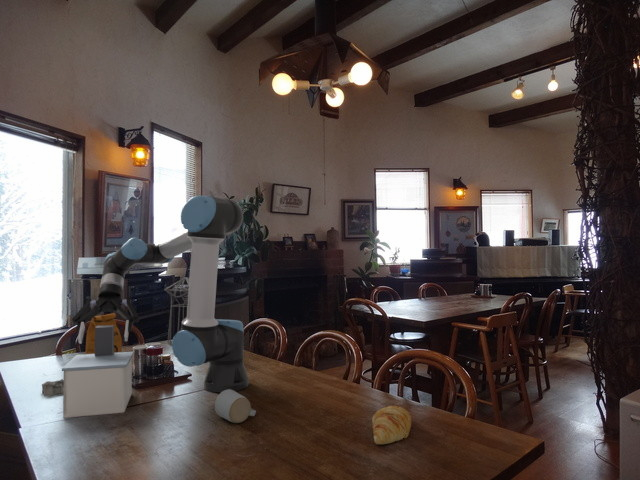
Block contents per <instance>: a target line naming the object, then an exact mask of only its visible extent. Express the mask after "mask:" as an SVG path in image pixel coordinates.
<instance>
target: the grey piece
mask: <svg viewBox="0 0 640 480" xmlns="http://www.w3.org/2000/svg"><path fill="white" fill-rule="evenodd" d="M63 389H64V378H62V379H60V380H55V381H51V380H49V381H45V382H43V383H42V384H41V393H42V394H43V395H44V396H46V397H47V396H49V397H51V396H54V395H56V394H61V395H63Z"/></svg>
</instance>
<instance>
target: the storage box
mask: <svg viewBox="0 0 640 480" xmlns="http://www.w3.org/2000/svg"><path fill="white" fill-rule="evenodd" d="M132 367H133V357H132V358H131V360H130V361H129V363H128V365H127V367H119V368H104V369H88V370H73V371H63V380H64V389H63V393H62V395H63V399H62V400H63V401H62V404H63V406H62V408H63V410H62V413H63V414H62V418H76V417H77V418H78V417H87V416H98V415H108V414H110V415H111V414H119V413H120V414H121V413H122V414H123V413H125V412H126V409H127V406H128V404H129V401H130V400H131V397H132V394H133V391H132V390H133V387H132V386H133V385H132V384H133V382H132V381H133V374H132V373H133V368H132Z"/></svg>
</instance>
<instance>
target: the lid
mask: <svg viewBox="0 0 640 480" xmlns="http://www.w3.org/2000/svg"><path fill="white" fill-rule="evenodd" d="M134 354H135V353H134V351H122V352H118V353H114V325H104V326H97V327H95V354H86V353H85V354H83V353H82V354H76V355H75V356H74V357H72V359H71V360H69V361H68V362H67V363H66V364H65V365H63V367H62V368H61V372H64V371H73V370H88V369H104V368H119V367H127V365H128V363H129V361H130V360H131V358H132V359H133V355H134Z"/></svg>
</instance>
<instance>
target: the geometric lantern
mask: <svg viewBox="0 0 640 480" xmlns="http://www.w3.org/2000/svg"><path fill="white" fill-rule="evenodd" d="M189 278H190V277H185V276H184V277H183V278H181V279H180V280H178V281H176V282H175V283H172V284H171V285H169V286H167V287H165V288H164V291H165V292H166V293H167V294H168V295H169V296H170V311H169V321H168V332H167V334H168V336H167V344H168V345H169V346H170V347H172V321H173V319H172V317H173V307H176V308H178V318H177V320H178V322H177V332H179V331H180V319H181V318H180V317H181V313H180V312H181V308H182V321H183V320H184V319H185V308H187V307H188V297H186V299H185V298H184V296H185V295H188V292H189V288H184V283H185V281H186V283H187V286H188V287H189ZM170 288H171V289H170ZM172 292H173V293H172ZM177 292H179V293H180V295H177ZM182 292H184V293H183V294H182ZM173 297H174V298H173ZM177 298H182V300H183V301H184V302H183V303H180V302H179V300H178V299H177ZM175 300H176V302H177V303H178V304H173V303H174V301H175Z"/></svg>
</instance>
